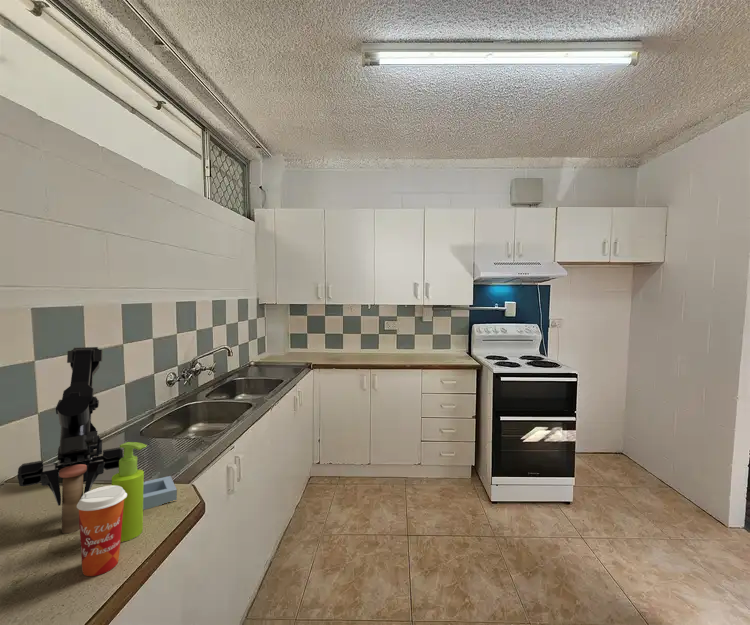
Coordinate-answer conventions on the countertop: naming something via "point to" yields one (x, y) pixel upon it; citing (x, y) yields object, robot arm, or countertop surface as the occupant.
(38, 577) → the countertop surface
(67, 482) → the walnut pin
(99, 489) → the paper cup
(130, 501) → the soap dispenser
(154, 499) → the hole block
